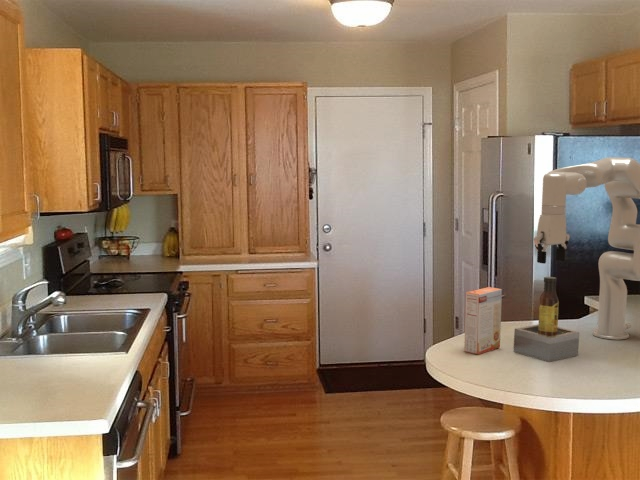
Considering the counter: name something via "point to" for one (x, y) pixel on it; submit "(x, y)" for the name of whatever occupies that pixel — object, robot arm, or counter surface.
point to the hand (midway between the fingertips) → (550, 261)
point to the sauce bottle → (548, 308)
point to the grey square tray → (546, 343)
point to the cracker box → (482, 320)
